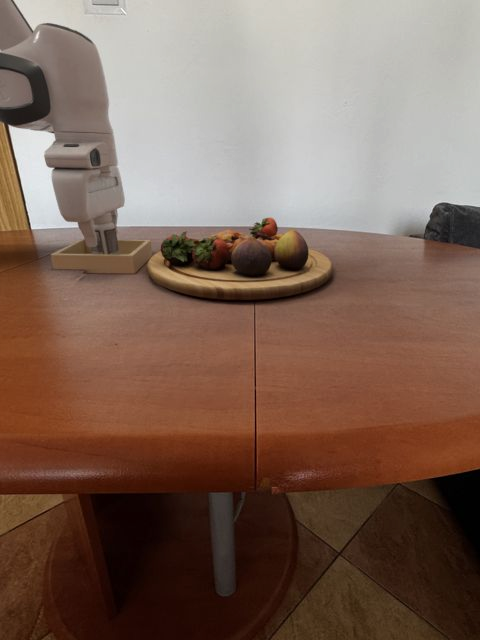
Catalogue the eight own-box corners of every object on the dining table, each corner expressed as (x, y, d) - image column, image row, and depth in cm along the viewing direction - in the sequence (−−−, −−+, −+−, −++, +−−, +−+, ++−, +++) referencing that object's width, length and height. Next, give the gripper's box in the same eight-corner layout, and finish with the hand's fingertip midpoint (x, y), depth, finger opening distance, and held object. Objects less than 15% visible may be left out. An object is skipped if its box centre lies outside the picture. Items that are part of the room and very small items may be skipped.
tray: (54, 272, 64) (50, 254, 63) (84, 254, 75) (81, 238, 74) (134, 273, 65) (132, 255, 63) (152, 255, 76) (150, 240, 74)
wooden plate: (229, 243, 87) (228, 205, 83) (360, 267, 71) (367, 221, 67) (108, 275, 63) (99, 224, 60) (262, 322, 47) (263, 256, 43)
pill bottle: (118, 256, 72) (111, 210, 69) (122, 262, 69) (114, 213, 65) (92, 258, 71) (83, 211, 67) (94, 264, 67) (84, 215, 63)
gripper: (93, 153, 71) (106, 229, 77) (37, 154, 53) (60, 253, 59) (126, 153, 71) (137, 229, 77) (82, 155, 53) (100, 254, 59)
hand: (103, 240), depth 68 cm, fingers open, 8 cm apart
